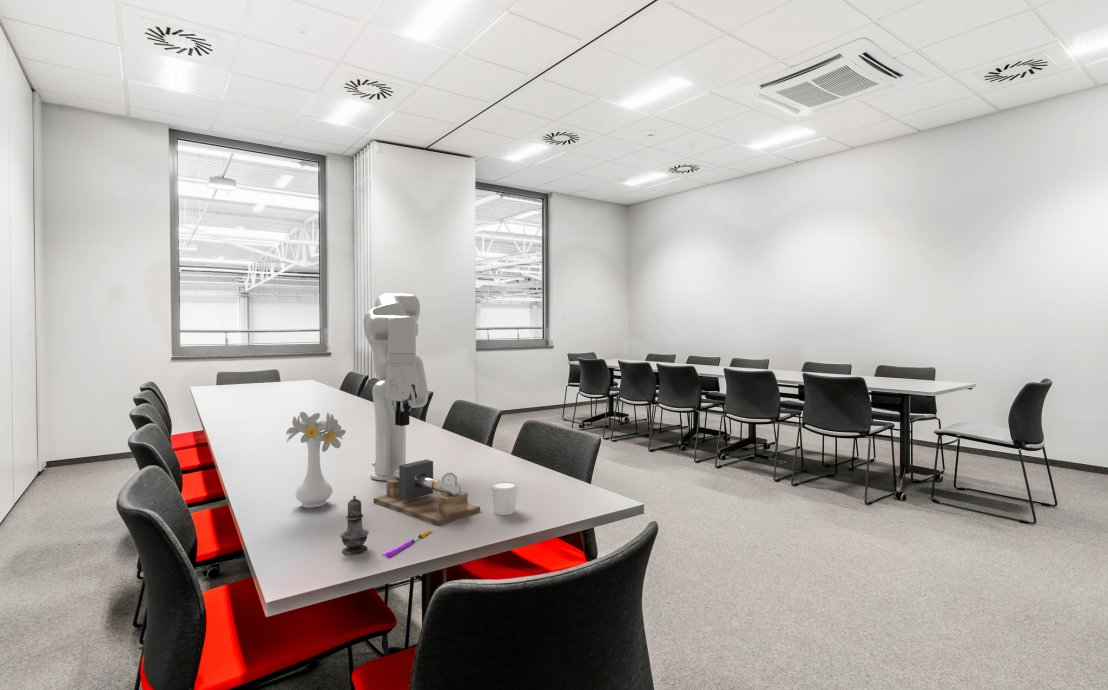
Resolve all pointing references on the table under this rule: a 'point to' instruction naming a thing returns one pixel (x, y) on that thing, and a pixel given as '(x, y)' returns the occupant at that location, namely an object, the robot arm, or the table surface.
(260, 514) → the table surface
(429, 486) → the pipe
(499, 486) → the shot glass
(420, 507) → the pipe stand
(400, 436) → the robot arm
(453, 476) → the light grey long piece
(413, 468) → the collar
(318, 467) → the flower vase
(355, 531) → the salt shaker
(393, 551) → the purple and yellow tool
